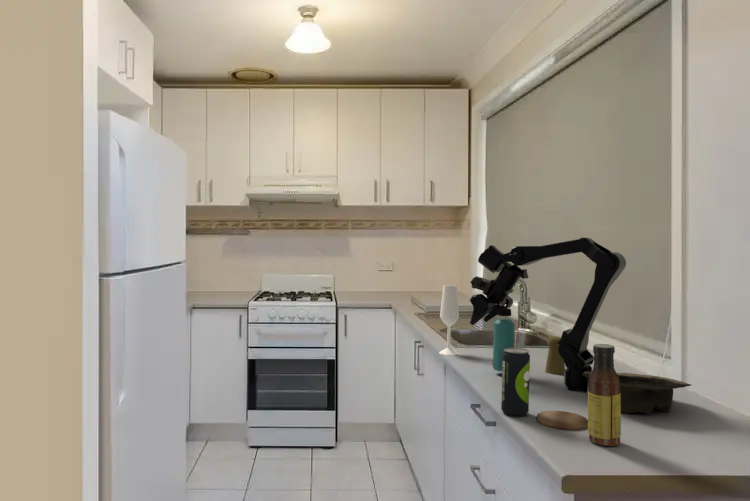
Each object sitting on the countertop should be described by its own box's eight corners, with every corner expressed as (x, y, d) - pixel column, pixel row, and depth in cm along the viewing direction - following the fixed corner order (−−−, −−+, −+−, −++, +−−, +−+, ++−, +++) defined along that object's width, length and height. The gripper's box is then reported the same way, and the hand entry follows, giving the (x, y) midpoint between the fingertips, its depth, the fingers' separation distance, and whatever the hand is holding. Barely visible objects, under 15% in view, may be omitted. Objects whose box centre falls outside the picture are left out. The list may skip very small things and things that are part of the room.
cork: (563, 370, 179) (564, 335, 179) (567, 374, 173) (568, 338, 173) (543, 369, 180) (544, 334, 179) (547, 374, 174) (548, 338, 173)
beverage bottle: (508, 378, 168) (510, 310, 167) (488, 374, 172) (489, 308, 171) (517, 374, 173) (519, 308, 172) (497, 370, 177) (499, 306, 176)
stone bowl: (627, 423, 127) (626, 382, 128) (562, 400, 151) (561, 365, 152) (716, 415, 134) (715, 375, 134) (640, 394, 158) (639, 360, 158)
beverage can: (496, 410, 136) (497, 347, 136) (519, 408, 138) (520, 346, 137) (510, 418, 130) (511, 353, 130) (533, 416, 132) (535, 352, 132)
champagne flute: (455, 355, 198) (457, 286, 197) (436, 353, 200) (438, 285, 200) (460, 352, 204) (461, 285, 203) (441, 350, 207) (443, 284, 206)
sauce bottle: (612, 436, 119) (615, 342, 119) (626, 448, 113) (629, 348, 112) (581, 436, 119) (583, 342, 118) (593, 447, 113) (596, 348, 112)
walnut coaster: (583, 416, 133) (583, 412, 133) (592, 431, 122) (592, 428, 122) (534, 412, 135) (534, 409, 135) (539, 427, 124) (539, 424, 124)
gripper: (497, 265, 182) (472, 304, 188) (470, 267, 167) (444, 309, 173) (525, 286, 177) (498, 325, 182) (499, 290, 162) (471, 332, 167)
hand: (478, 322), depth 176 cm, fingers open, 9 cm apart
